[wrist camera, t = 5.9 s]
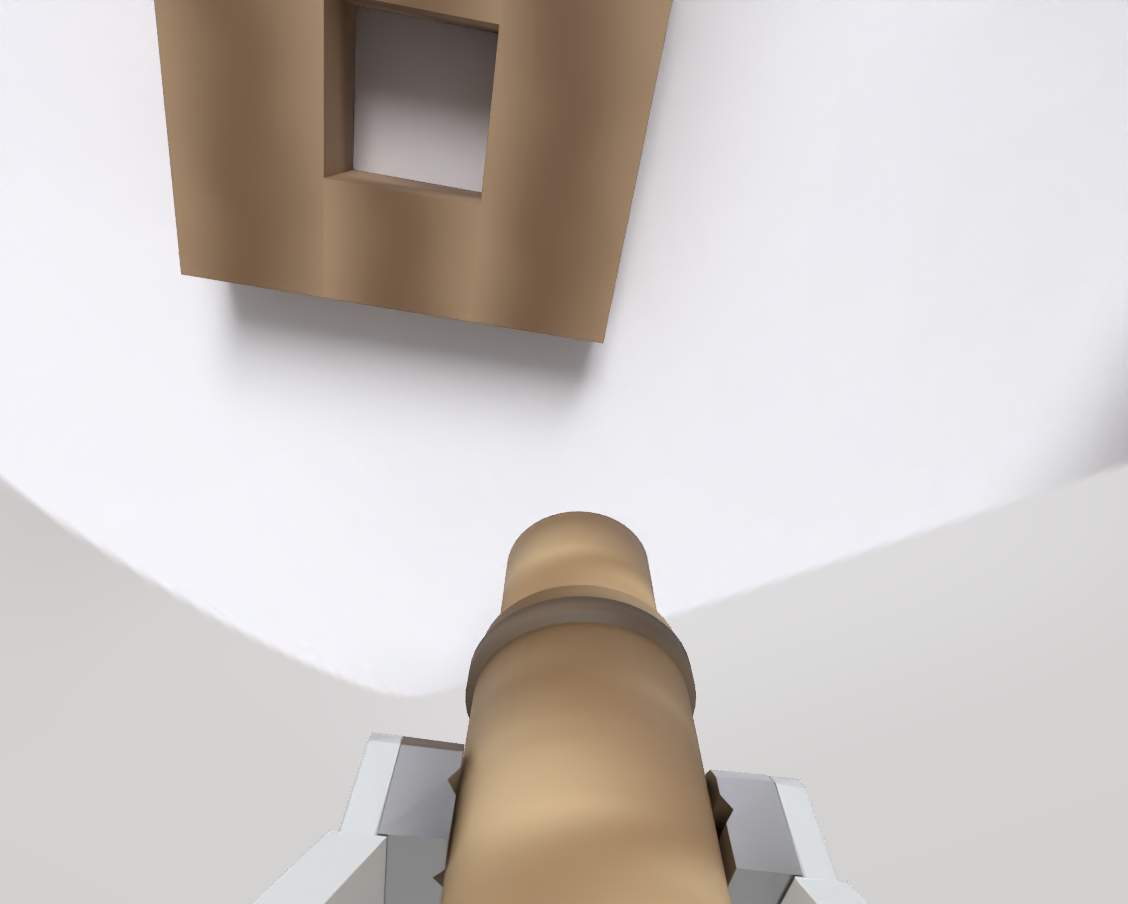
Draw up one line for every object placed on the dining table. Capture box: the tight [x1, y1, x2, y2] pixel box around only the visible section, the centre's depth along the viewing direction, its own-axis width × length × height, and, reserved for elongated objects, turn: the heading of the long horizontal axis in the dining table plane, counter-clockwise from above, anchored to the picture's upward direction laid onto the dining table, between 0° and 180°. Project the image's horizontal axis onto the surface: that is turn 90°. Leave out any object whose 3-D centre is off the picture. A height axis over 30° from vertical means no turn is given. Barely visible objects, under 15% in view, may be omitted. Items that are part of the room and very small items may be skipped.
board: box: [154, 0, 672, 343], centre depth 24 cm, size 16×14×4 cm
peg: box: [440, 511, 731, 904], centre depth 11 cm, size 4×4×12 cm
